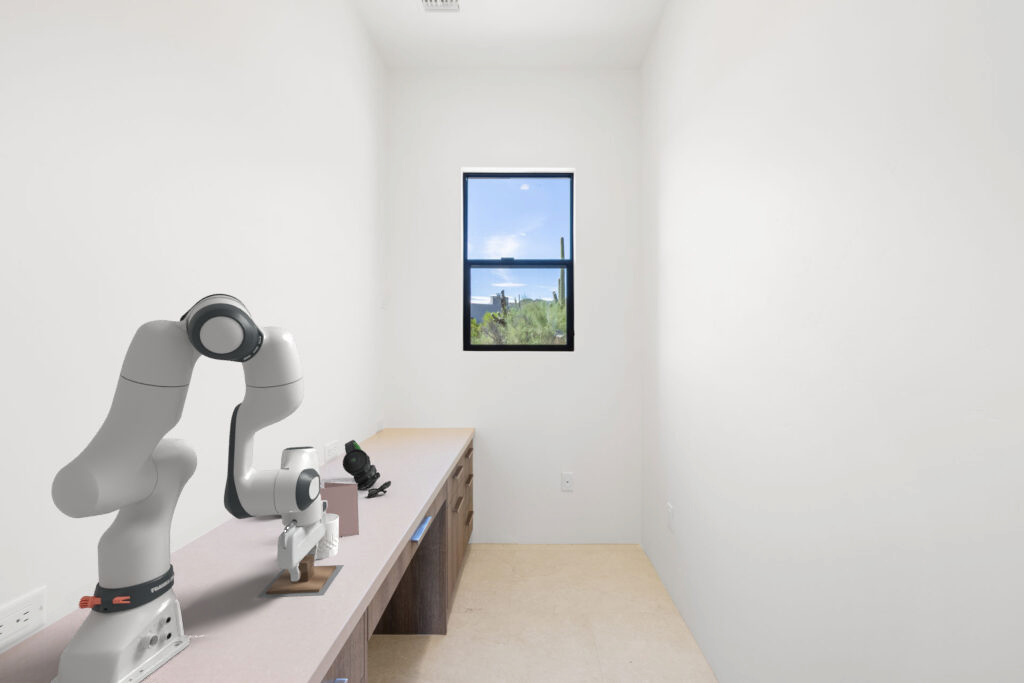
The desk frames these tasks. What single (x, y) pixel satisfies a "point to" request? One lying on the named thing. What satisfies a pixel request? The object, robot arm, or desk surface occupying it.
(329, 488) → the greeting card
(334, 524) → the white cup
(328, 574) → the walnut lid
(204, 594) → the desk surface
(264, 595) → the rubber mat
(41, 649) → the desk surface
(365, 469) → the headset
